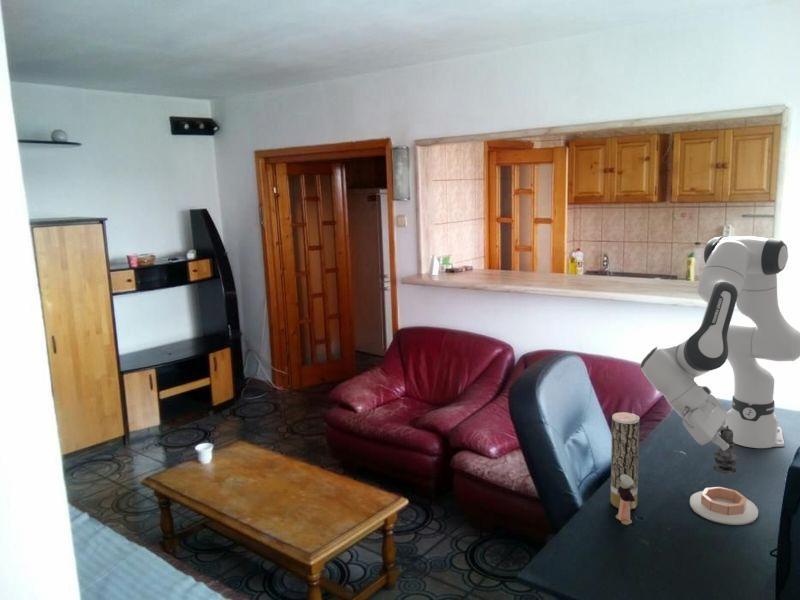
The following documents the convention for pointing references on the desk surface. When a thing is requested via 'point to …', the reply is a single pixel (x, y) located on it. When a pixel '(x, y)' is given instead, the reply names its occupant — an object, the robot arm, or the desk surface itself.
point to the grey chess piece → (726, 454)
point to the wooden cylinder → (624, 453)
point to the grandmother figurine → (625, 499)
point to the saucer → (723, 506)
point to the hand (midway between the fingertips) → (729, 445)
